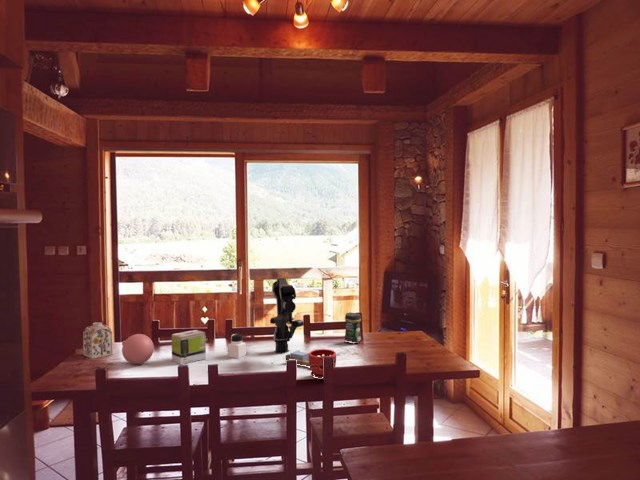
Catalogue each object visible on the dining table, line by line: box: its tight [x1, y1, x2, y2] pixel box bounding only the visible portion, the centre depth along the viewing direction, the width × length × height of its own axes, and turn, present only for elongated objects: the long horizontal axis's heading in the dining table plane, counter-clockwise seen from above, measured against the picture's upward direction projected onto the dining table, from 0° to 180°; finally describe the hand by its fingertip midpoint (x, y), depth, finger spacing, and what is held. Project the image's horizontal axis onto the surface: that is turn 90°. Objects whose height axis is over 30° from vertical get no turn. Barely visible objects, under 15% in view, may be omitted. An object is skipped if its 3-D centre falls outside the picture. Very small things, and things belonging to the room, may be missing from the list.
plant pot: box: [308, 348, 337, 378], centre depth 229 cm, size 13×13×12 cm
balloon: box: [121, 333, 155, 365], centre depth 251 cm, size 15×20×15 cm
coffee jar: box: [344, 312, 362, 342], centre depth 296 cm, size 10×8×19 cm
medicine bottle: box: [227, 333, 247, 359], centre depth 265 cm, size 7×7×12 cm
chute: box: [285, 353, 325, 366], centre depth 251 cm, size 18×11×4 cm, turn 58°
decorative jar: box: [82, 322, 114, 360], centre depth 265 cm, size 12×12×18 cm
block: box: [289, 350, 309, 361], centre depth 254 cm, size 8×6×5 cm
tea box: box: [171, 329, 207, 365], centre depth 257 cm, size 15×10×15 cm, turn 134°
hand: (286, 337), depth 258 cm, fingers open, 5 cm apart
